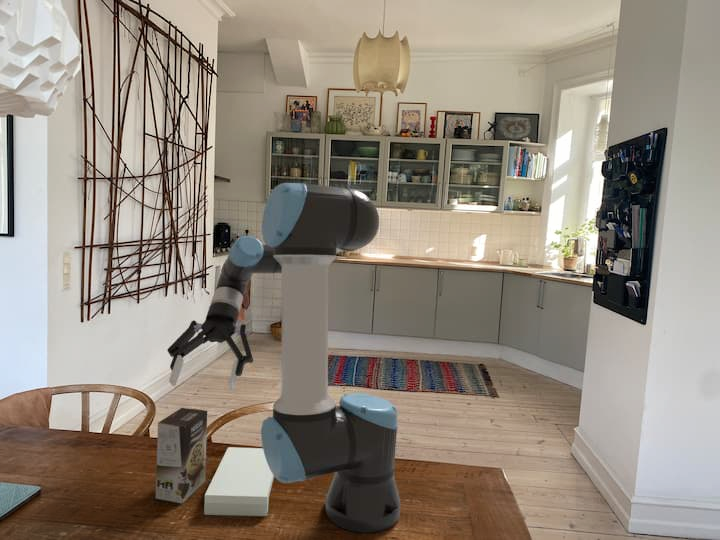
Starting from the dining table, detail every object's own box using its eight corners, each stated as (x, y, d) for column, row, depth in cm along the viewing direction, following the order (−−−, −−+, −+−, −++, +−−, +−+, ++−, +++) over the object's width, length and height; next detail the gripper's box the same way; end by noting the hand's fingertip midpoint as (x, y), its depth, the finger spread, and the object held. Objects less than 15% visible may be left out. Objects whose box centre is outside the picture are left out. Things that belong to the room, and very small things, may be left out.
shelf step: (278, 465, 114) (279, 448, 114) (266, 516, 94) (267, 496, 94) (227, 463, 113) (228, 447, 113) (204, 514, 93) (204, 494, 93)
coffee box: (183, 504, 96) (185, 426, 95) (154, 499, 98) (156, 422, 96) (206, 481, 105) (208, 409, 104) (180, 476, 106) (181, 406, 105)
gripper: (274, 320, 126) (257, 396, 113) (180, 313, 127) (153, 388, 114) (271, 304, 120) (252, 382, 107) (172, 297, 121) (142, 373, 108)
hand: (201, 385), depth 110 cm, fingers open, 13 cm apart
